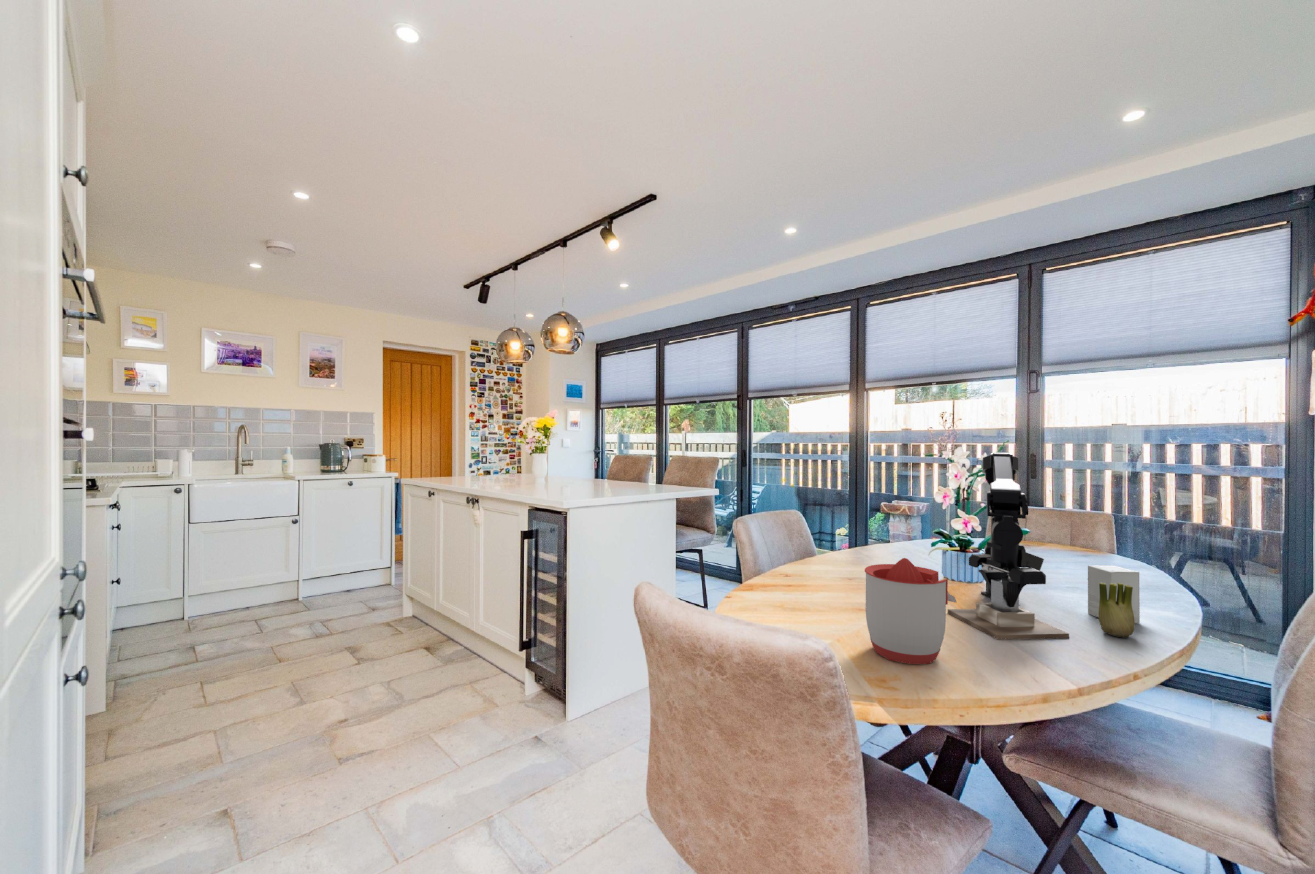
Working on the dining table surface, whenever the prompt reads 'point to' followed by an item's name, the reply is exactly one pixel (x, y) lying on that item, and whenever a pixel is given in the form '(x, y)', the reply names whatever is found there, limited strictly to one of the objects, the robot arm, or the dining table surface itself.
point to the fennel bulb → (1116, 610)
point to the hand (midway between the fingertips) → (1004, 604)
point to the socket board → (1007, 623)
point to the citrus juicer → (906, 611)
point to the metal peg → (1001, 598)
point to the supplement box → (1108, 577)
